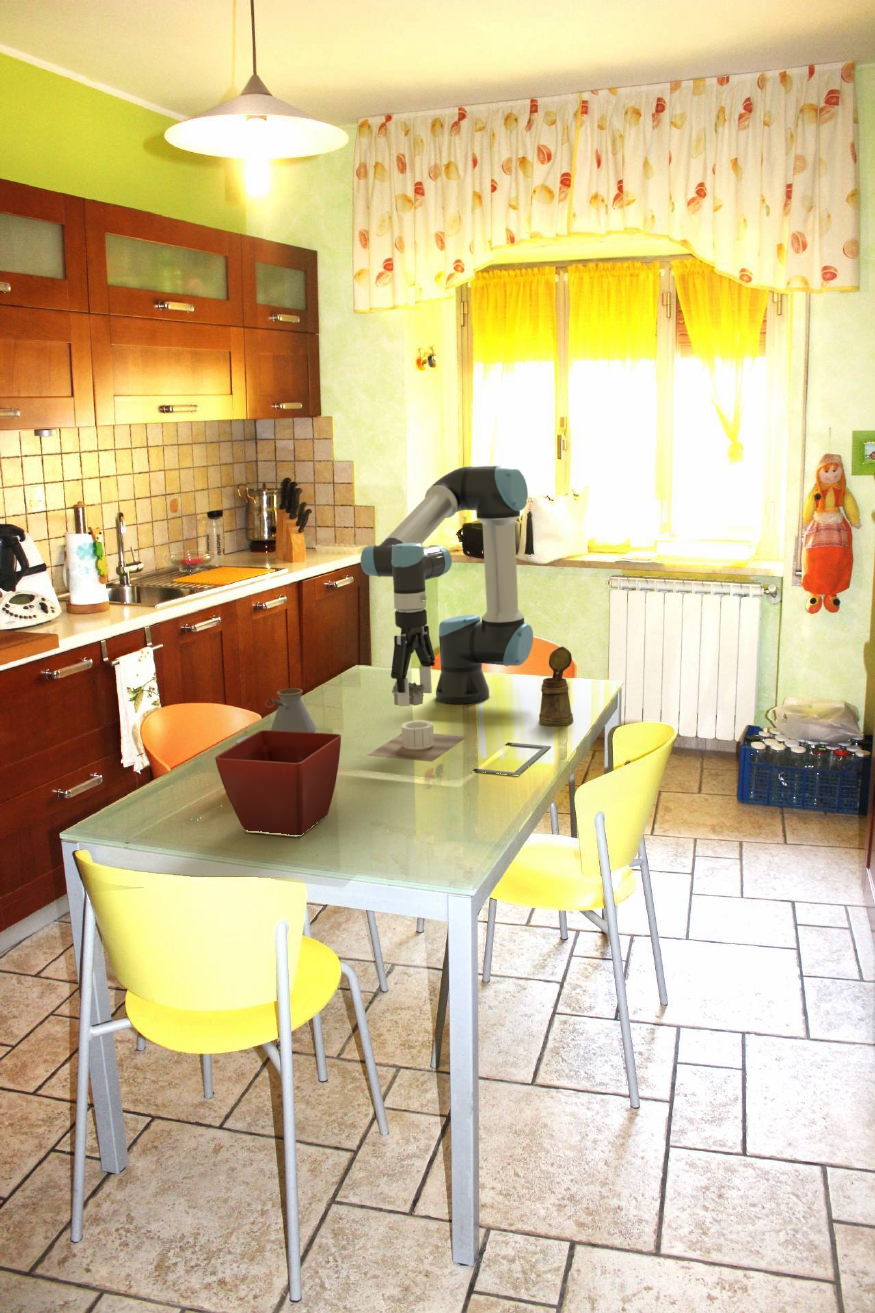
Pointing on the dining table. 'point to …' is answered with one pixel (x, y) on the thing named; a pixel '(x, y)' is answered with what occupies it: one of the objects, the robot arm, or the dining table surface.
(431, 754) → the walnut board
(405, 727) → the cream hollow cylinder
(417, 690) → the egg carton
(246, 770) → the plant pot
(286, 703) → the coffee pot
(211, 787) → the dining table surface
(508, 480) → the robot arm
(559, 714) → the wooden mug
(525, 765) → the mat border
